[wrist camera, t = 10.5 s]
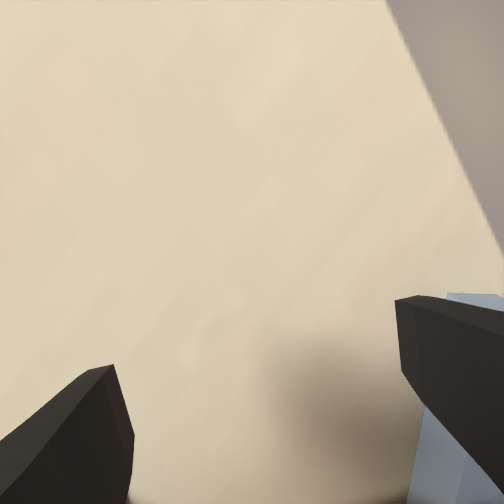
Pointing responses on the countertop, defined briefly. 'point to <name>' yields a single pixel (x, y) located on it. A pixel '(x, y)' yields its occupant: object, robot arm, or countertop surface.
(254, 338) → the countertop surface
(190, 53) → the countertop surface
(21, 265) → the countertop surface
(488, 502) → the push bar
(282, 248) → the countertop surface
